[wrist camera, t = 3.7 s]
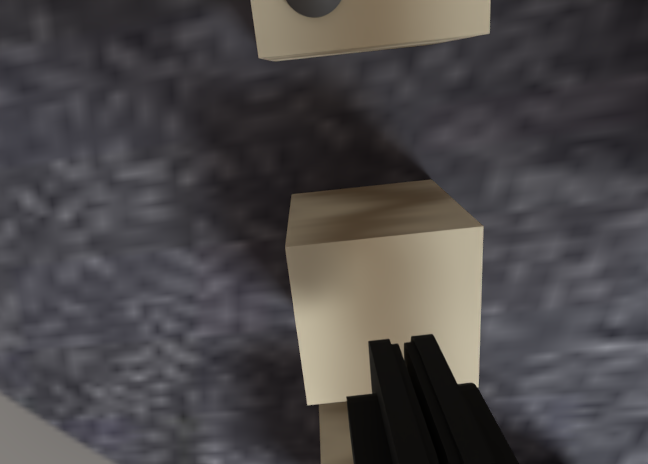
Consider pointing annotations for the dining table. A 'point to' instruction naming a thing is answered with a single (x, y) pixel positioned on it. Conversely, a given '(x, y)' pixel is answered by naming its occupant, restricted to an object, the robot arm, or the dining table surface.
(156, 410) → the dining table surface
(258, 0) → the two dot block
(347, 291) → the plain block
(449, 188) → the dining table surface
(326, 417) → the one dot block
